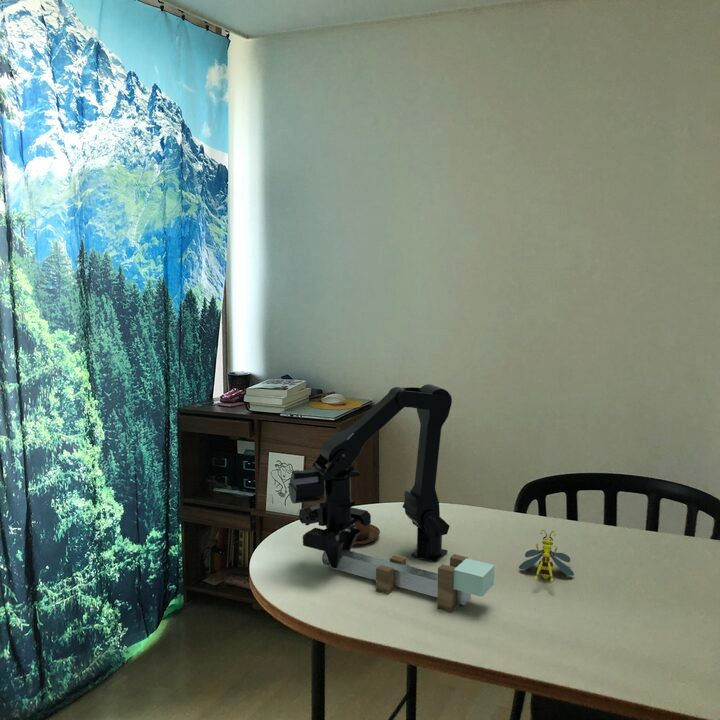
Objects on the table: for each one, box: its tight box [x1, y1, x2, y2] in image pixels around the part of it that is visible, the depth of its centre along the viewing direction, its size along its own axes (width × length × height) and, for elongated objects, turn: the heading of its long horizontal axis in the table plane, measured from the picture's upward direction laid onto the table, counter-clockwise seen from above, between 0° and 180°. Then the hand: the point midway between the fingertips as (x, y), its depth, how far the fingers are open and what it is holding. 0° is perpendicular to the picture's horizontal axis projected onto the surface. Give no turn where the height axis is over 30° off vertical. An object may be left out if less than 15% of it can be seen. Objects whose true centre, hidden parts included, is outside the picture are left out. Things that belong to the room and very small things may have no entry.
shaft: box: [321, 549, 472, 606], centre depth 148 cm, size 4×34×4 cm, turn 58°
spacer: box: [453, 558, 496, 598], centre depth 138 cm, size 6×6×4 cm
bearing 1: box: [375, 554, 407, 596], centre depth 148 cm, size 8×3×5 cm, turn 148°
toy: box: [518, 529, 575, 582], centre depth 152 cm, size 12×8×15 cm
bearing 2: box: [436, 553, 469, 613], centre depth 141 cm, size 8×3×8 cm, turn 148°
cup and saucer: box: [353, 512, 381, 545], centre depth 173 cm, size 12×12×6 cm
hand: (338, 565), depth 156 cm, fingers closed on shaft, 3 cm apart
